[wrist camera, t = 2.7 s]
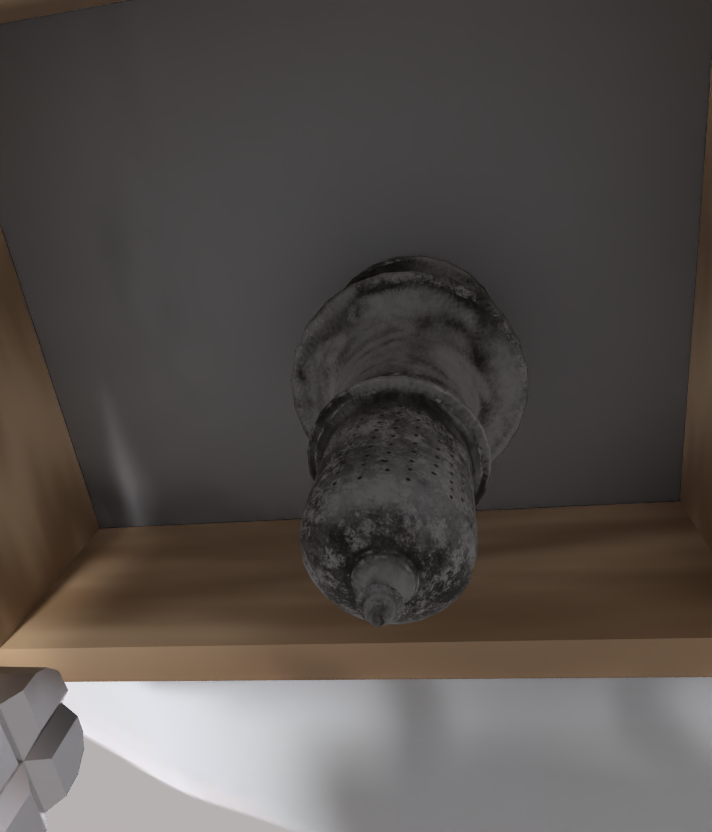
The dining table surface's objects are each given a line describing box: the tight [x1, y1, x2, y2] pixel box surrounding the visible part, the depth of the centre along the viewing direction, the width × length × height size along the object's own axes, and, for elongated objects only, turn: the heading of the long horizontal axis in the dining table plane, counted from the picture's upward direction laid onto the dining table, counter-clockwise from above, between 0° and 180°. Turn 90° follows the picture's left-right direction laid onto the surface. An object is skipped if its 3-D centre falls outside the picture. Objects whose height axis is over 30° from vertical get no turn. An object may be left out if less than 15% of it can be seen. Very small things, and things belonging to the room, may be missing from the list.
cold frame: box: [0, 0, 712, 682], centre depth 17 cm, size 18×22×6 cm
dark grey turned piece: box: [291, 256, 528, 627], centre depth 14 cm, size 6×6×12 cm
